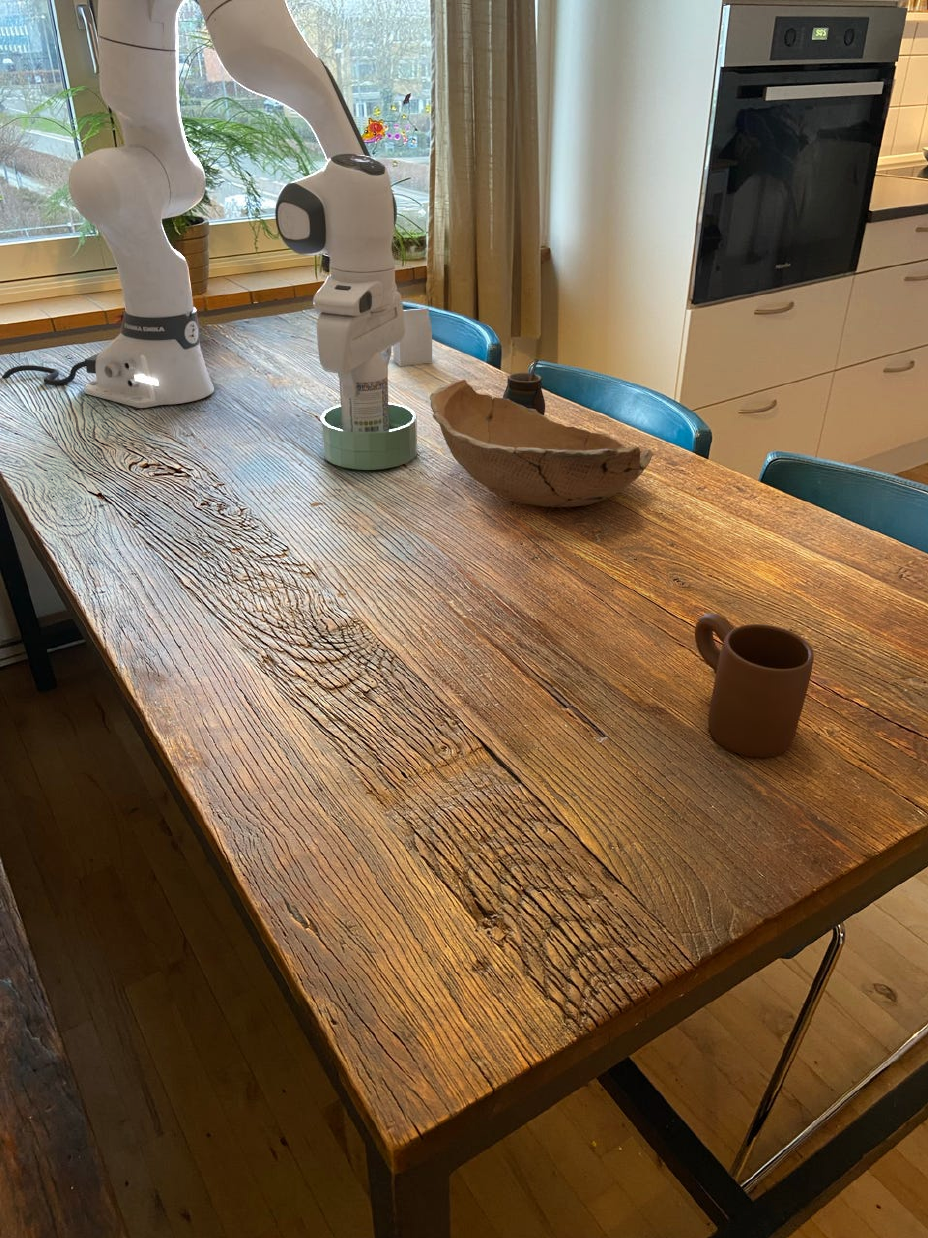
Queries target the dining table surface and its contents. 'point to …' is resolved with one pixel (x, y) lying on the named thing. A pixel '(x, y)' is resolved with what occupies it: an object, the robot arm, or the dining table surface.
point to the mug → (754, 684)
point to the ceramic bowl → (531, 451)
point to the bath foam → (367, 399)
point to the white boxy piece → (414, 339)
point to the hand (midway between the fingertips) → (366, 387)
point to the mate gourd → (526, 390)
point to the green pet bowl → (370, 441)
